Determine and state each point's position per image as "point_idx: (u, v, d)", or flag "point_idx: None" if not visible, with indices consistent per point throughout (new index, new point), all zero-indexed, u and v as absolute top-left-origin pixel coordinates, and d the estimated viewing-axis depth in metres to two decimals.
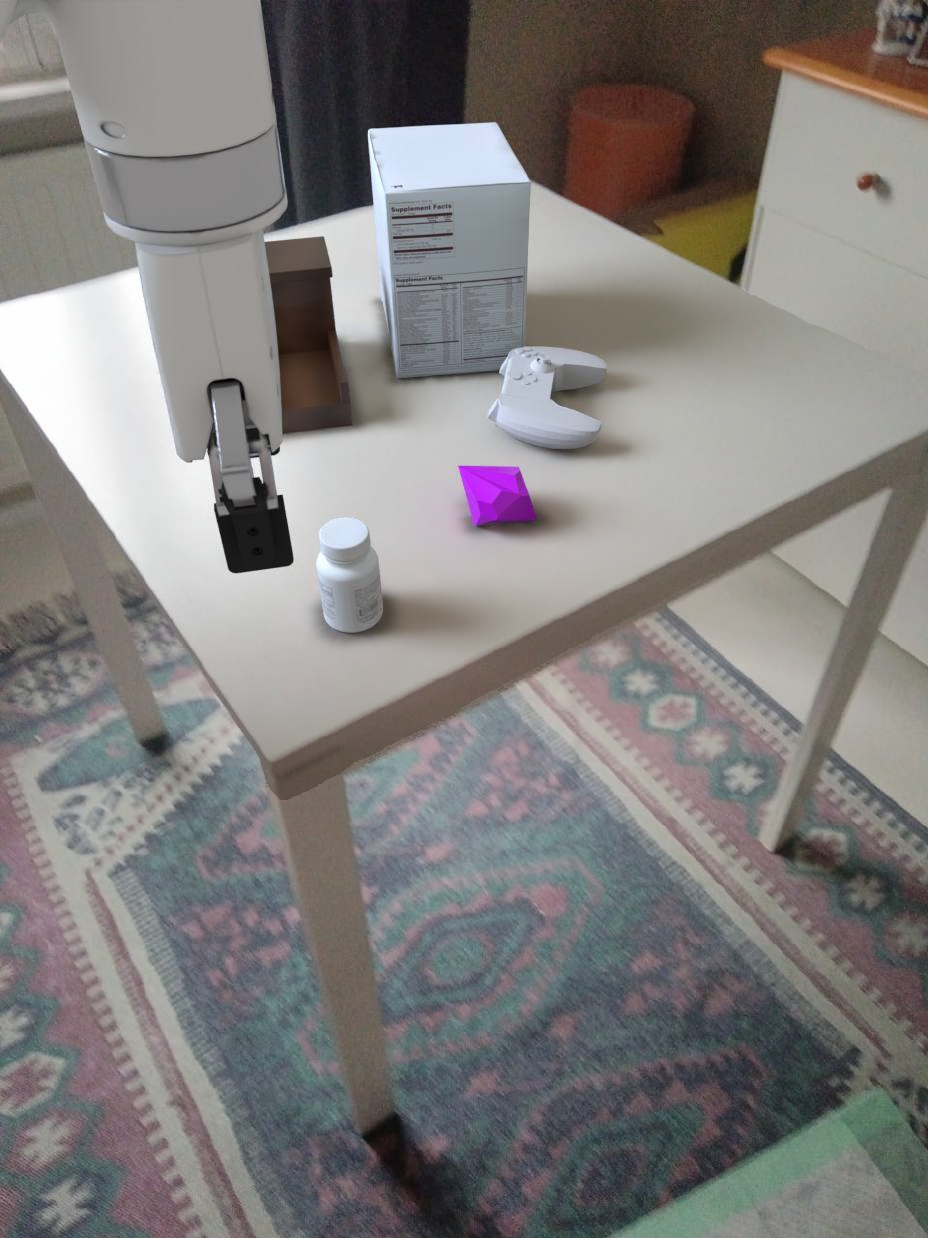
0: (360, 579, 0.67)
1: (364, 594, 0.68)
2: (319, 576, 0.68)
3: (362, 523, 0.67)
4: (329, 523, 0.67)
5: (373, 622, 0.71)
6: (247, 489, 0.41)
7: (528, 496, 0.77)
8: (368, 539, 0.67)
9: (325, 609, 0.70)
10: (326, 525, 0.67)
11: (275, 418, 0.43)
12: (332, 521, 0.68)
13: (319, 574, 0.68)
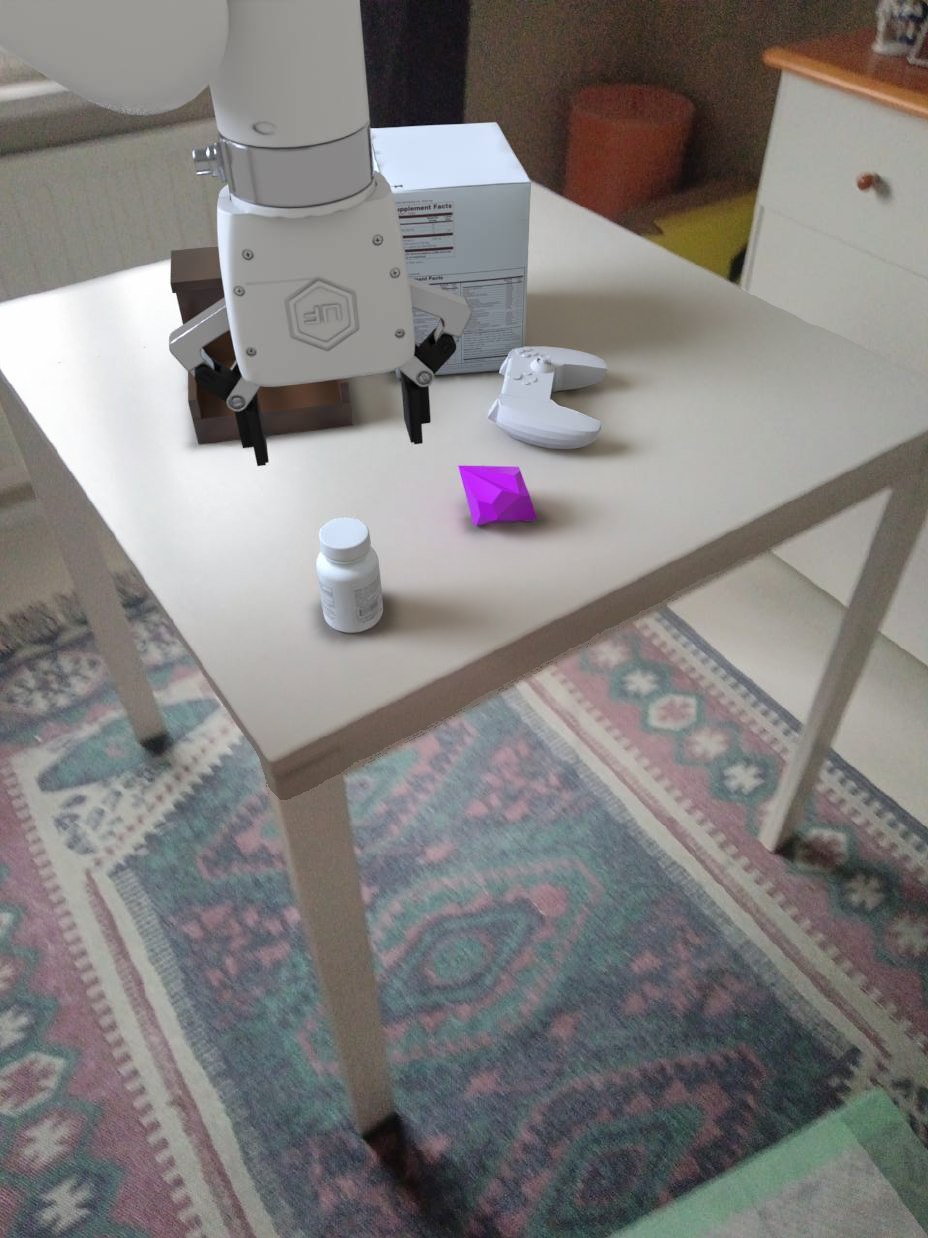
0: (360, 579, 0.67)
1: (364, 594, 0.68)
2: (319, 576, 0.68)
3: (362, 523, 0.67)
4: (329, 523, 0.67)
5: (373, 622, 0.71)
6: None
7: (528, 496, 0.77)
8: (368, 539, 0.67)
9: (325, 609, 0.70)
10: (326, 525, 0.67)
11: None
12: (332, 521, 0.68)
13: (319, 574, 0.68)
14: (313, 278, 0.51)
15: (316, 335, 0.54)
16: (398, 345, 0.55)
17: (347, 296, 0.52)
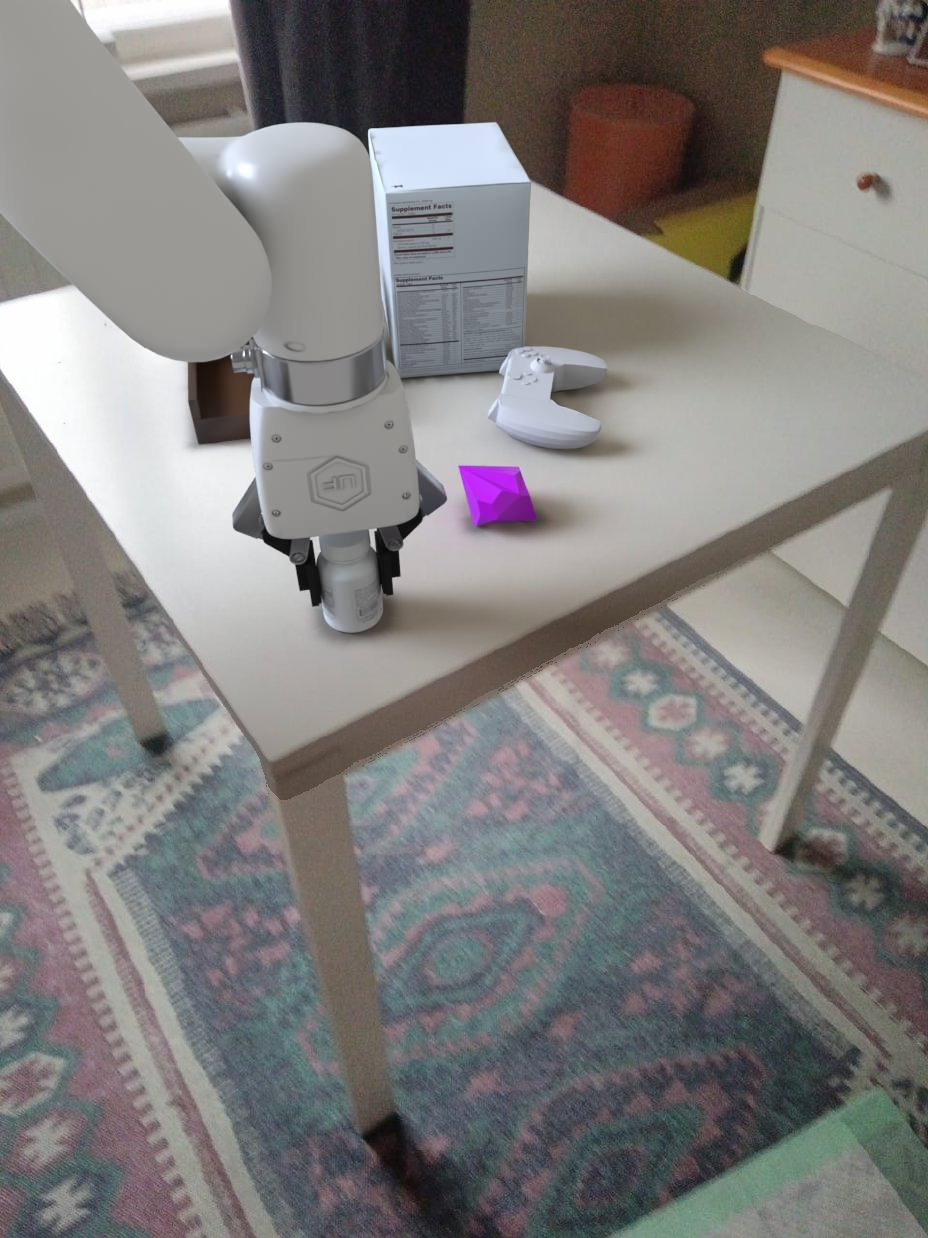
0: (360, 579, 0.67)
1: (364, 594, 0.68)
2: (319, 576, 0.68)
3: None
4: None
5: (373, 622, 0.71)
6: None
7: (528, 496, 0.77)
8: (368, 539, 0.67)
9: (325, 609, 0.70)
10: None
11: None
12: None
13: (319, 574, 0.68)
14: (332, 455, 0.59)
15: (333, 499, 0.61)
16: (404, 505, 0.63)
17: (361, 469, 0.60)
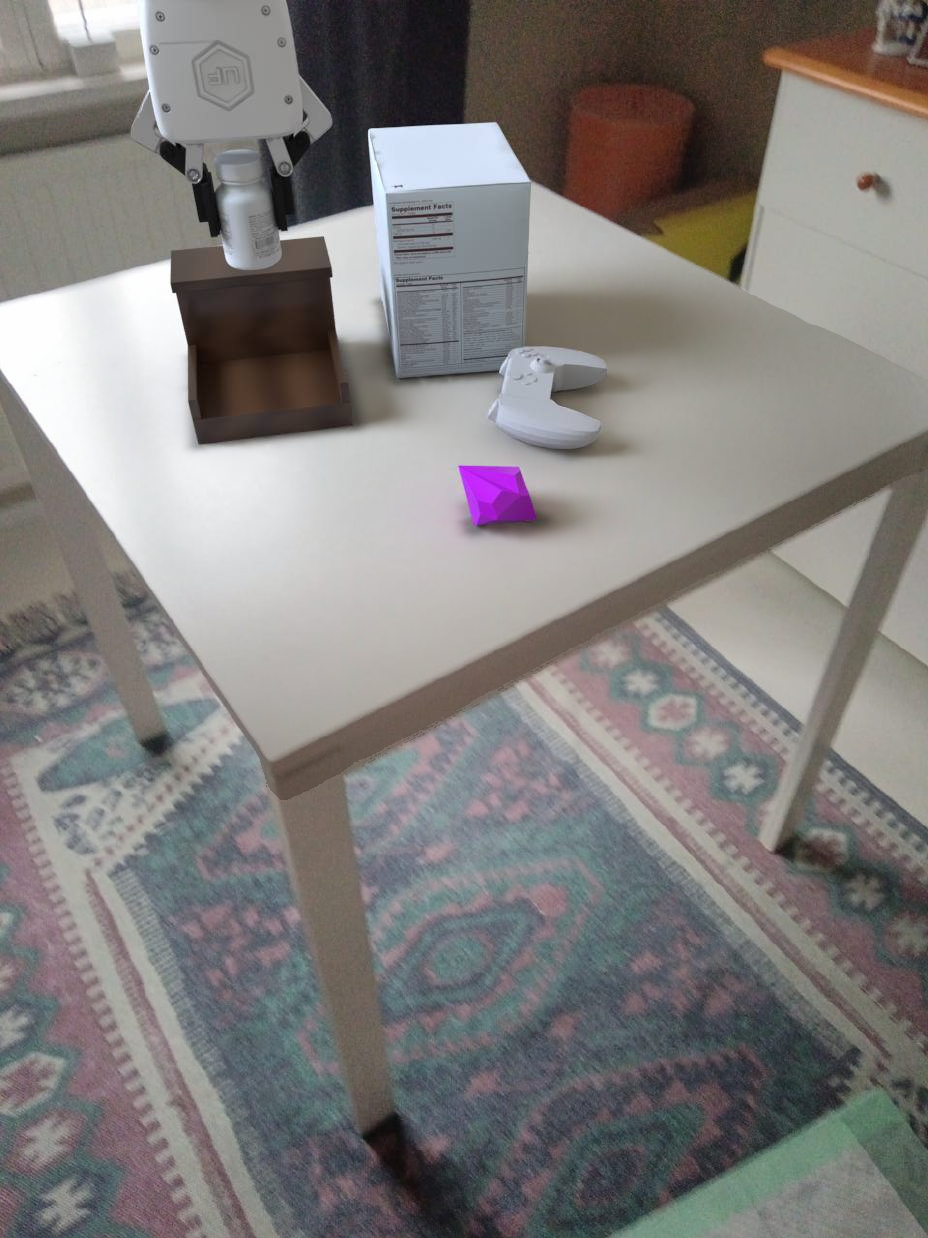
0: (253, 203, 0.72)
1: (258, 223, 0.73)
2: (217, 204, 0.73)
3: (256, 152, 0.72)
4: (225, 152, 0.72)
5: (270, 260, 0.76)
6: None
7: (528, 496, 0.77)
8: (260, 163, 0.72)
9: (225, 245, 0.75)
10: (222, 153, 0.72)
11: None
12: (228, 151, 0.73)
13: (216, 202, 0.73)
14: (214, 41, 0.64)
15: (219, 95, 0.66)
16: (288, 110, 0.68)
17: (242, 60, 0.65)
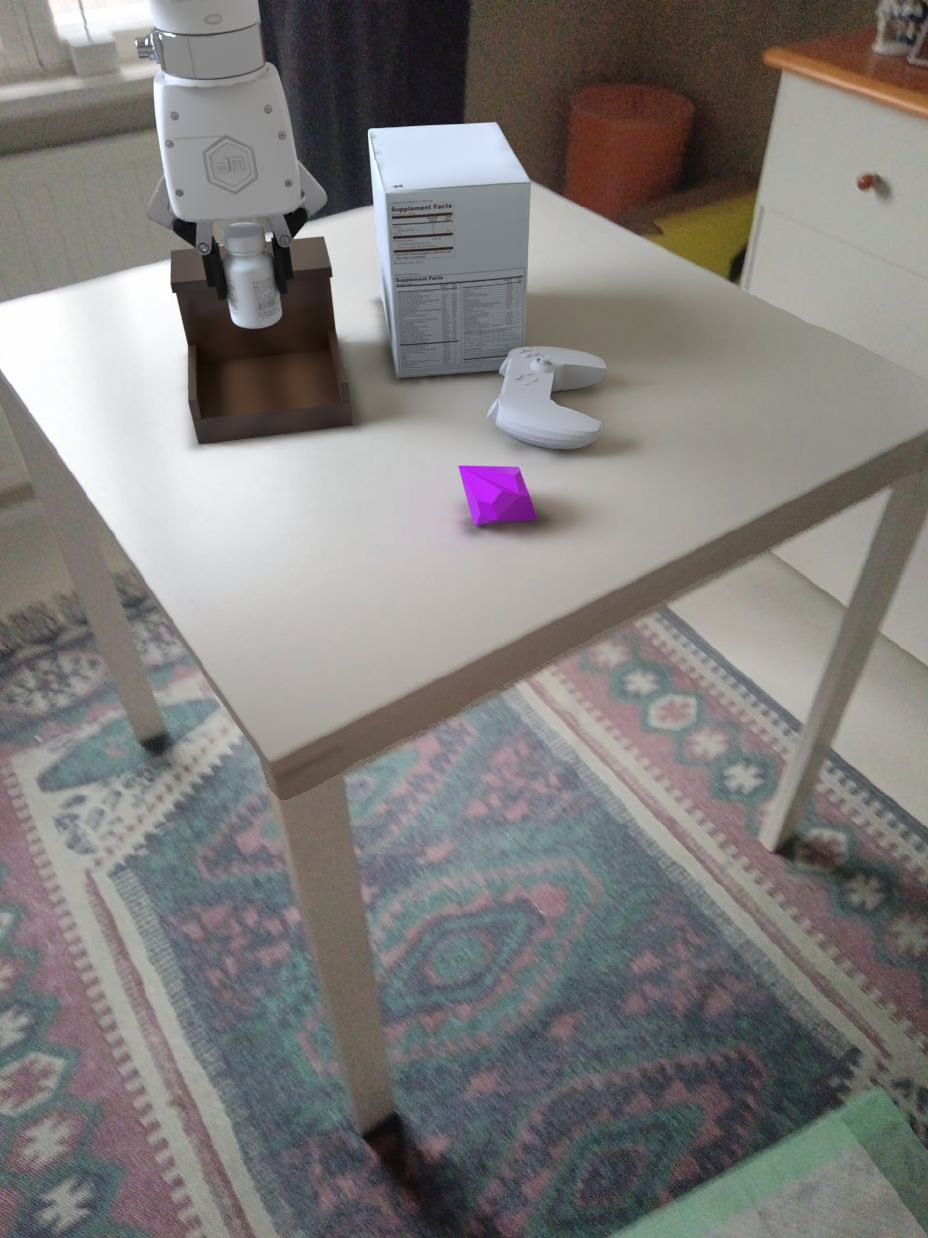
0: (257, 271, 0.81)
1: (261, 288, 0.82)
2: (224, 272, 0.81)
3: (258, 225, 0.81)
4: (231, 225, 0.81)
5: (272, 320, 0.84)
6: None
7: (528, 496, 0.77)
8: (263, 236, 0.80)
9: (231, 306, 0.83)
10: (228, 226, 0.81)
11: None
12: (234, 224, 0.81)
13: (223, 269, 0.81)
14: (222, 136, 0.72)
15: (226, 181, 0.75)
16: (287, 192, 0.76)
17: (247, 151, 0.73)
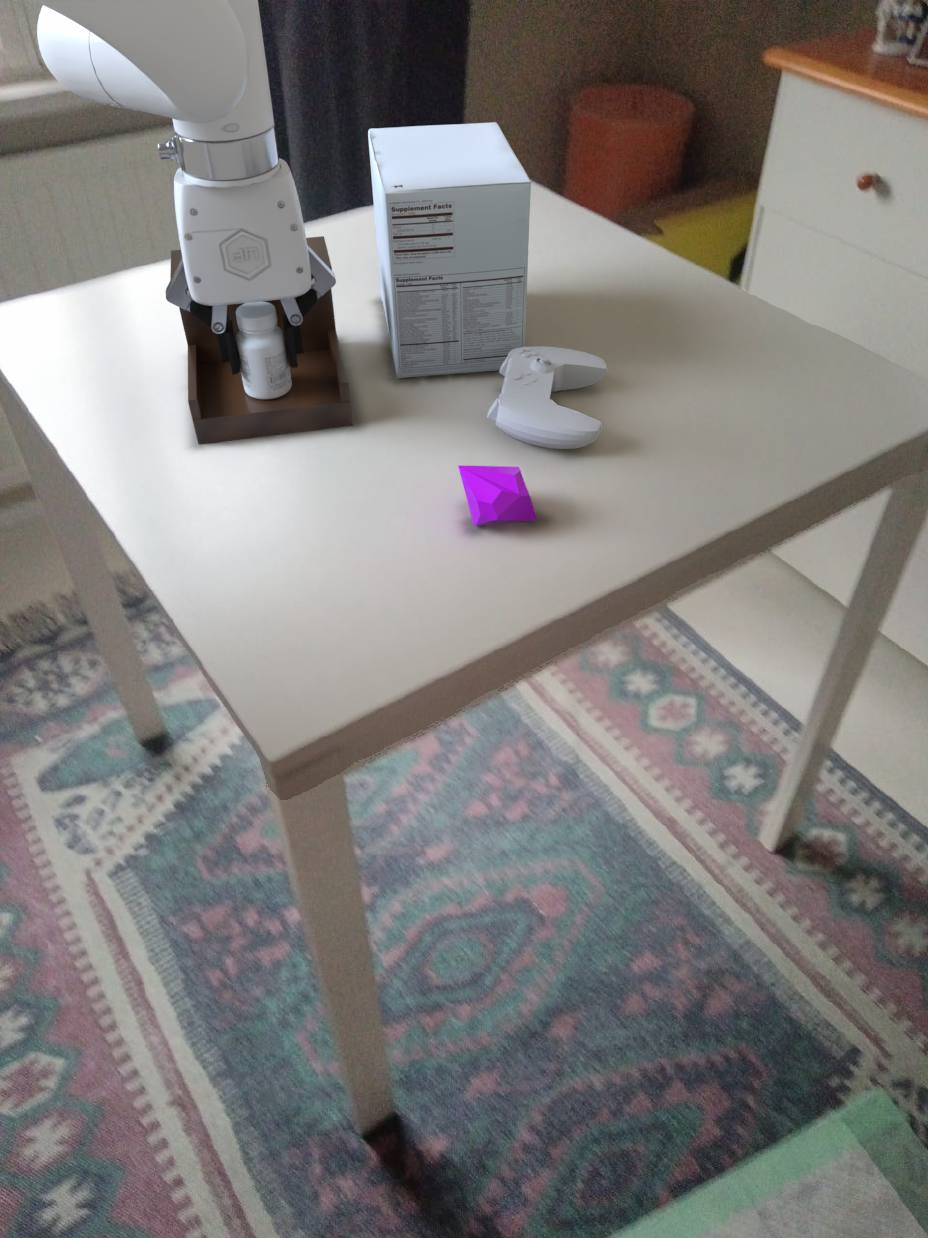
0: (269, 348, 0.85)
1: (273, 363, 0.86)
2: (237, 348, 0.86)
3: (270, 304, 0.85)
4: (244, 304, 0.85)
5: (282, 391, 0.89)
6: None
7: (528, 496, 0.77)
8: (274, 315, 0.85)
9: (244, 379, 0.88)
10: (242, 305, 0.85)
11: None
12: (247, 303, 0.86)
13: (237, 346, 0.86)
14: (238, 229, 0.77)
15: (241, 269, 0.79)
16: (298, 278, 0.81)
17: (261, 242, 0.78)
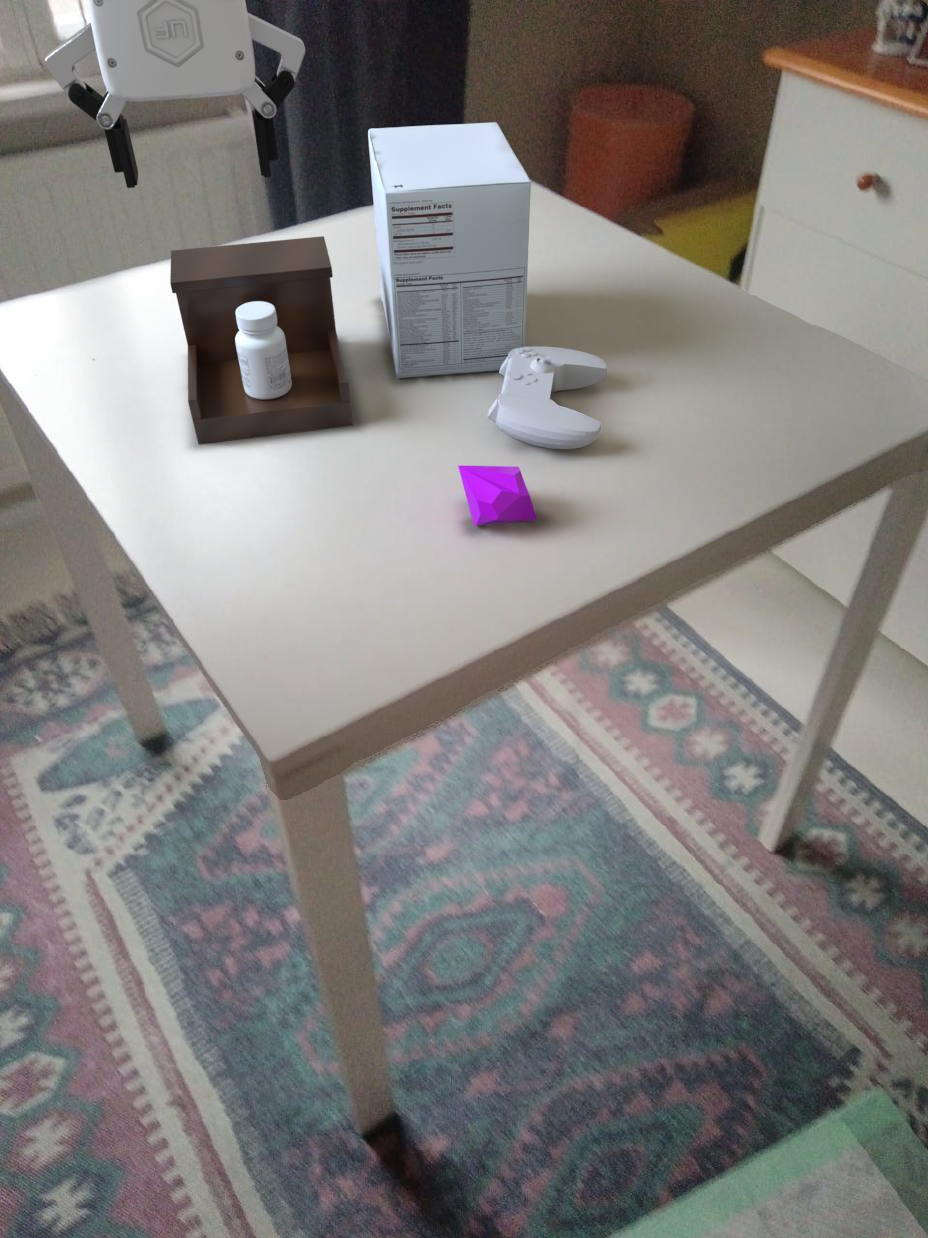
0: (269, 348, 0.85)
1: (273, 363, 0.86)
2: (237, 348, 0.86)
3: (270, 304, 0.85)
4: (244, 304, 0.85)
5: (282, 391, 0.89)
6: None
7: (528, 496, 0.77)
8: (274, 315, 0.85)
9: (244, 379, 0.88)
10: (242, 305, 0.85)
11: None
12: (247, 303, 0.86)
13: (237, 346, 0.86)
14: None
15: (167, 50, 0.64)
16: (239, 67, 0.66)
17: (190, 13, 0.63)
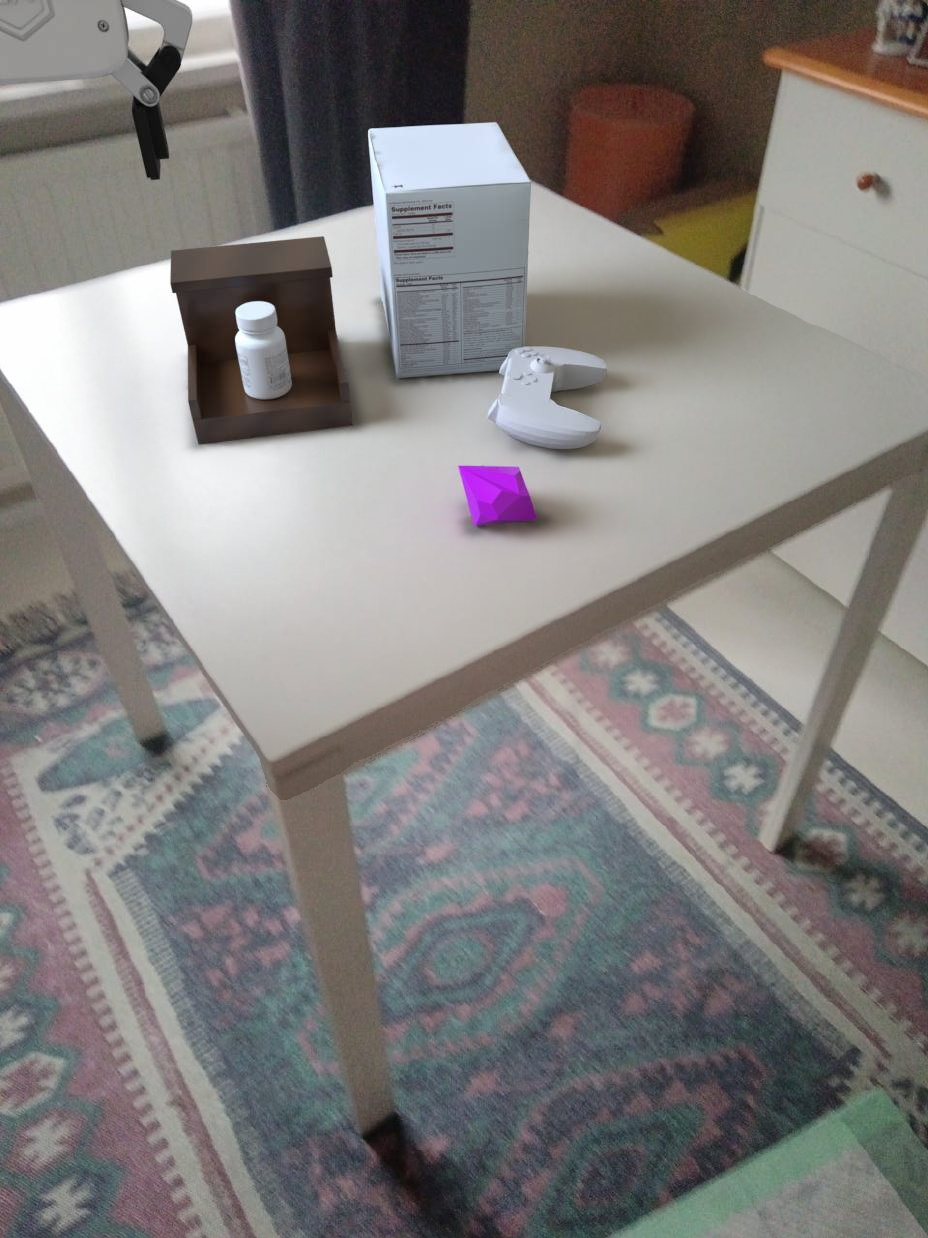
0: (269, 348, 0.85)
1: (273, 363, 0.86)
2: (237, 348, 0.86)
3: (270, 304, 0.85)
4: (244, 304, 0.85)
5: (282, 391, 0.89)
6: None
7: (528, 496, 0.77)
8: (274, 315, 0.85)
9: (244, 379, 0.88)
10: (242, 305, 0.85)
11: None
12: (247, 303, 0.86)
13: (237, 346, 0.86)
14: None
15: (7, 19, 0.50)
16: (103, 41, 0.52)
17: None
